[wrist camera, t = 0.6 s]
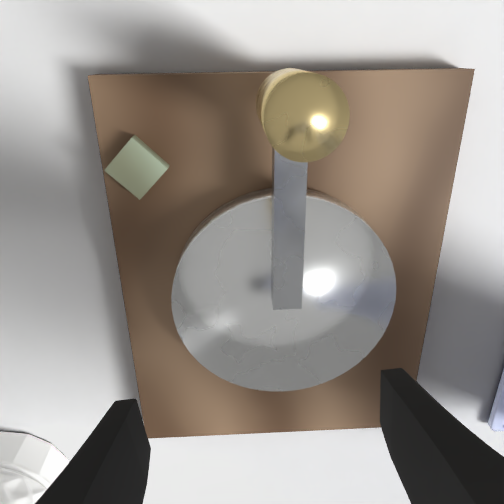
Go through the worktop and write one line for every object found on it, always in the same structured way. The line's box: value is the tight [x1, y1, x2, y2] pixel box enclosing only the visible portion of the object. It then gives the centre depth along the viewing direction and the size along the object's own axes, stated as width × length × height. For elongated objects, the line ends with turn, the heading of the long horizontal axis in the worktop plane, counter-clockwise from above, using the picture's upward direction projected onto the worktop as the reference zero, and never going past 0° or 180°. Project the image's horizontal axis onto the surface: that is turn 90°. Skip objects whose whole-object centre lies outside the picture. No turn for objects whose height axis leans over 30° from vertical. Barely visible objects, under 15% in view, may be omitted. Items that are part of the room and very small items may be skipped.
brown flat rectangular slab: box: [88, 68, 475, 438], centre depth 21 cm, size 15×19×2 cm
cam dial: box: [171, 68, 396, 391], centre depth 17 cm, size 15×10×5 cm
